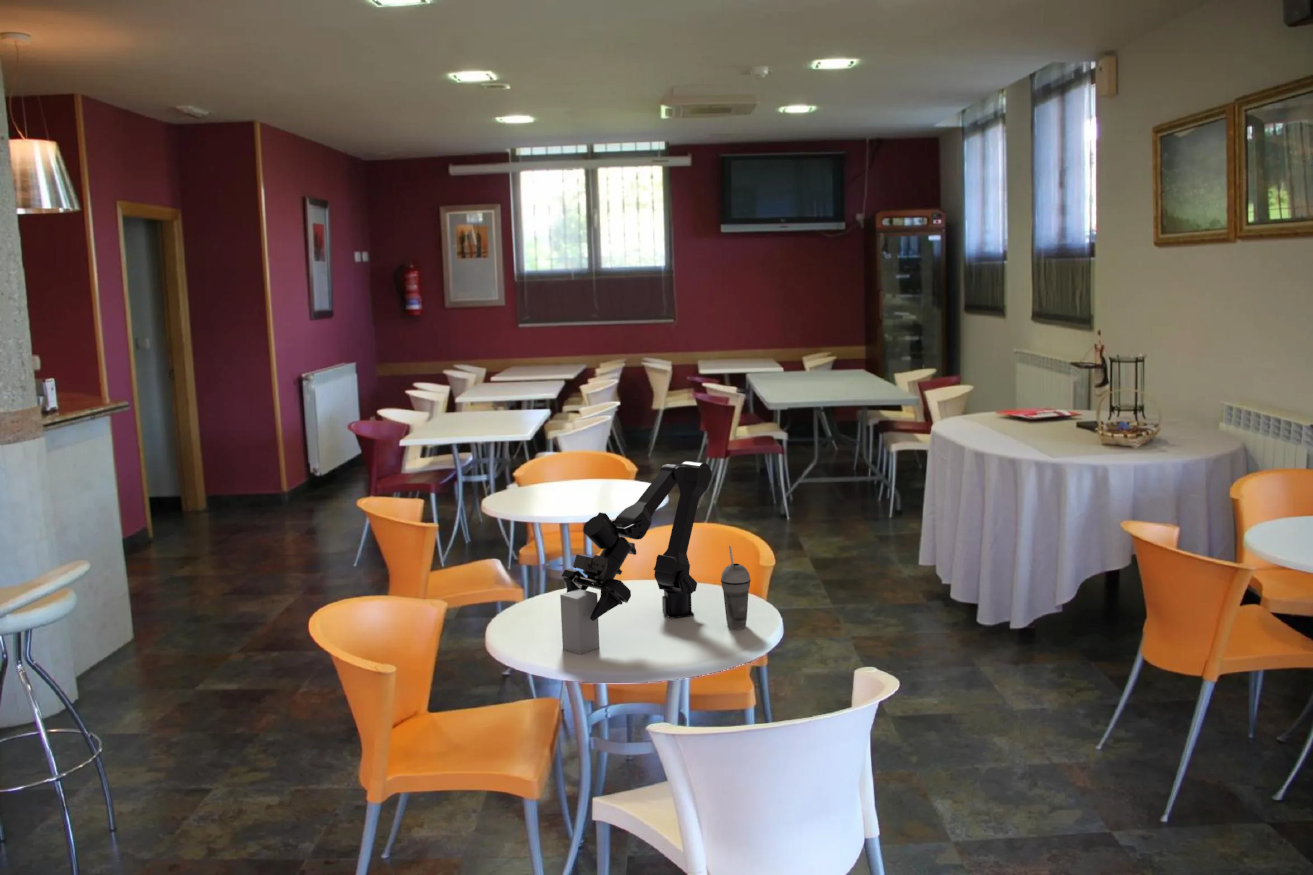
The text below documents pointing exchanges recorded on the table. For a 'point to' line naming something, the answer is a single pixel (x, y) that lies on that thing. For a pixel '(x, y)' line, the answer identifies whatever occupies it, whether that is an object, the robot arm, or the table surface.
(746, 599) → the beverage cup
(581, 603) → the smooth gray cuboid
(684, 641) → the table surface
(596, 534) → the robot arm
